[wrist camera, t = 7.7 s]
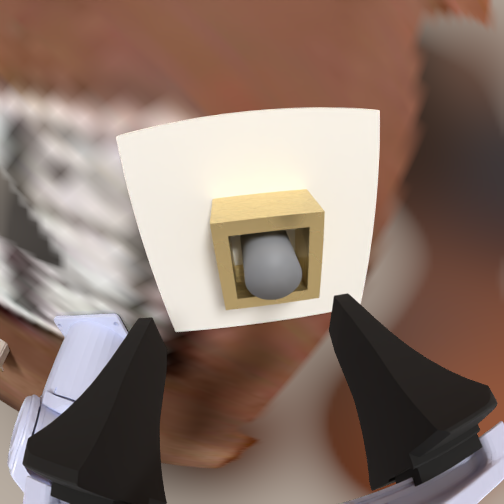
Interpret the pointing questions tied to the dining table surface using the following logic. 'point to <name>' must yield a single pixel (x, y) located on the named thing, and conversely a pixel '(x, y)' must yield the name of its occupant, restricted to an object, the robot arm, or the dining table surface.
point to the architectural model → (3, 353)
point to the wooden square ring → (264, 220)
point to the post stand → (244, 183)
